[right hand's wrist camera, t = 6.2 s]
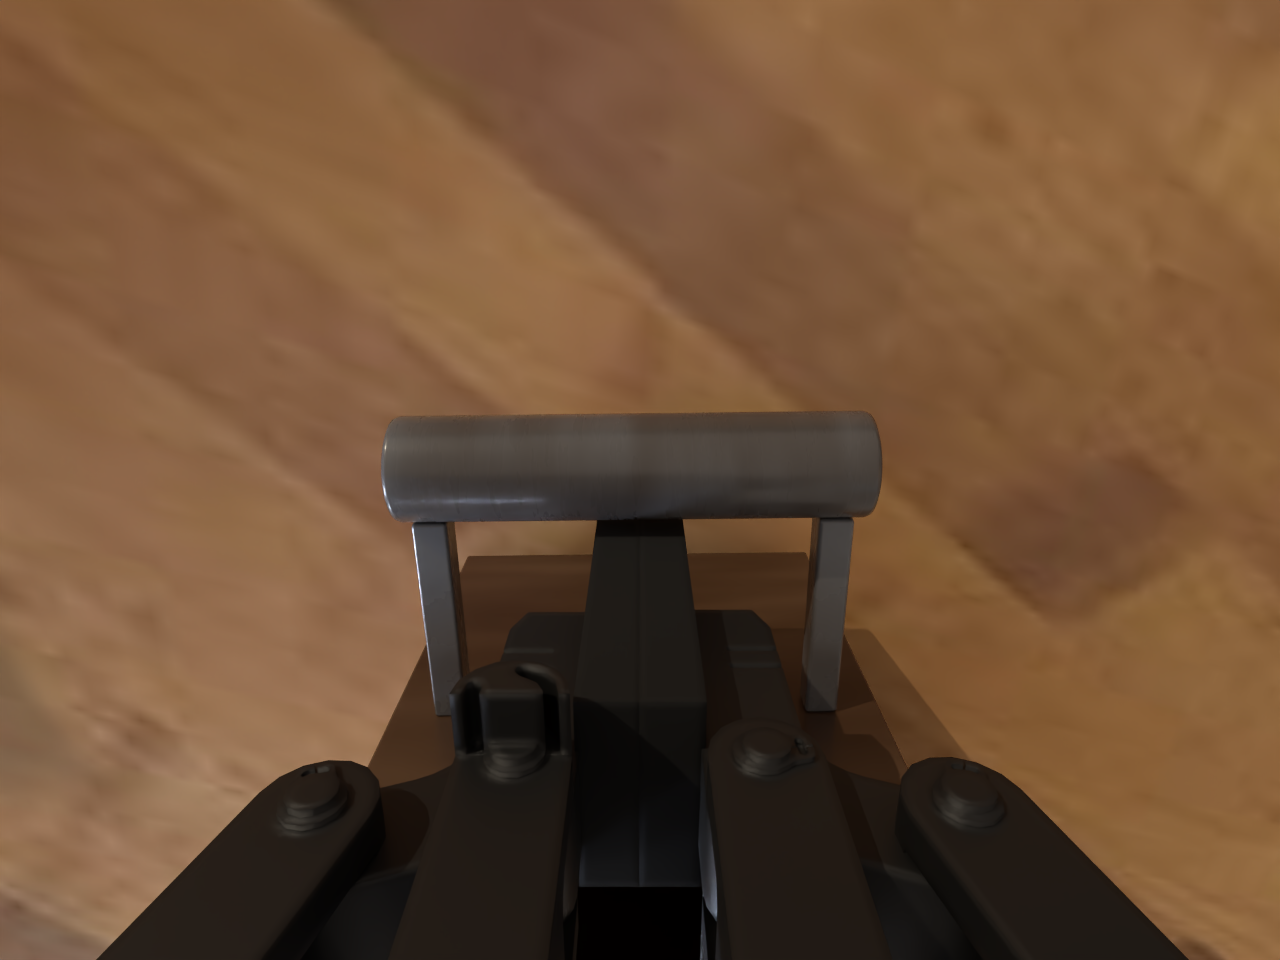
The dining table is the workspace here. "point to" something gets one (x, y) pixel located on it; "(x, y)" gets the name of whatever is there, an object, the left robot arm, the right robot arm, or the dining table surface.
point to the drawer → (514, 585)
